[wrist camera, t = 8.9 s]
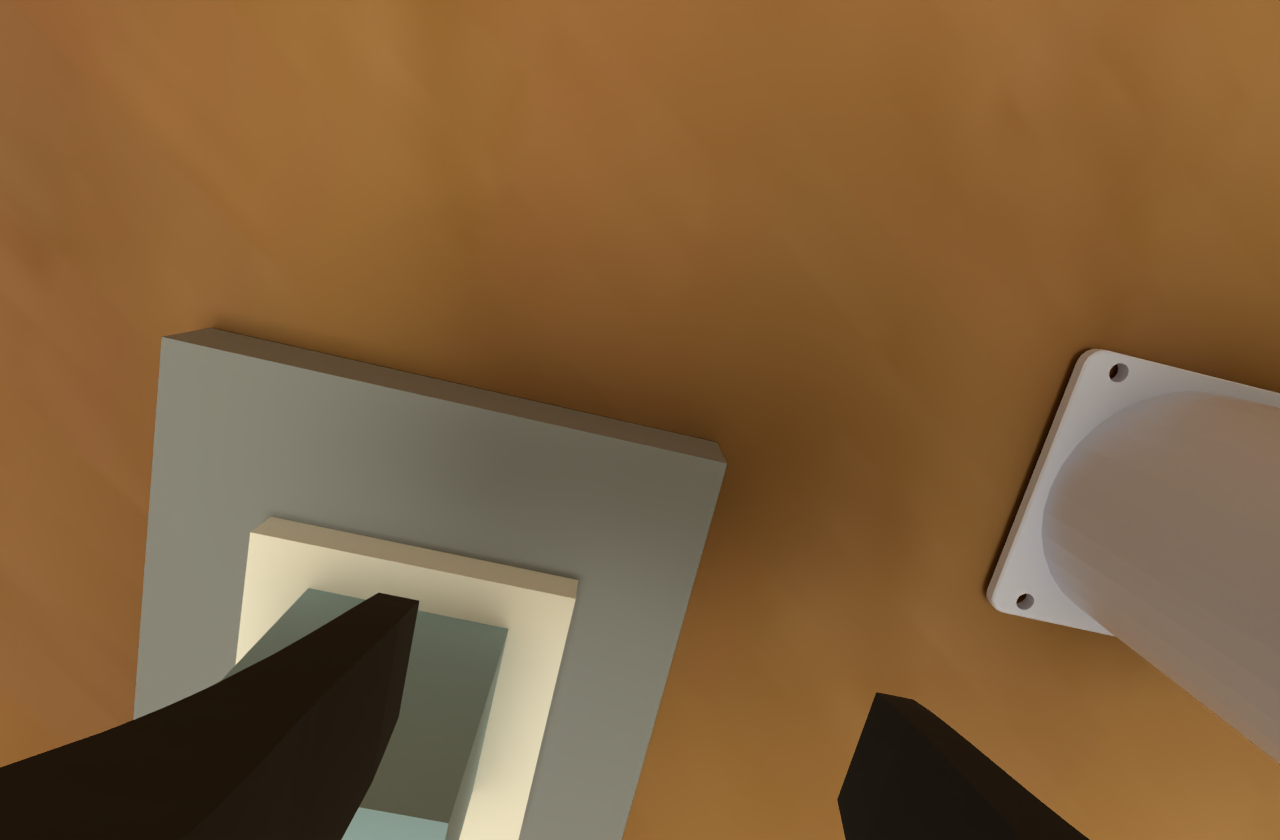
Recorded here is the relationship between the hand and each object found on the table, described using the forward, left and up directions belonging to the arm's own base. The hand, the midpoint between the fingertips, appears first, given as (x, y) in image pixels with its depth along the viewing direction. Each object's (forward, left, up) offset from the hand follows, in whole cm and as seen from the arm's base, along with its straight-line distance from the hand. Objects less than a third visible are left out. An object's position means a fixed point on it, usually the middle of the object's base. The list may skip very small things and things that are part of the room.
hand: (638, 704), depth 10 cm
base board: (+5, +6, -9) cm, 12 cm away
